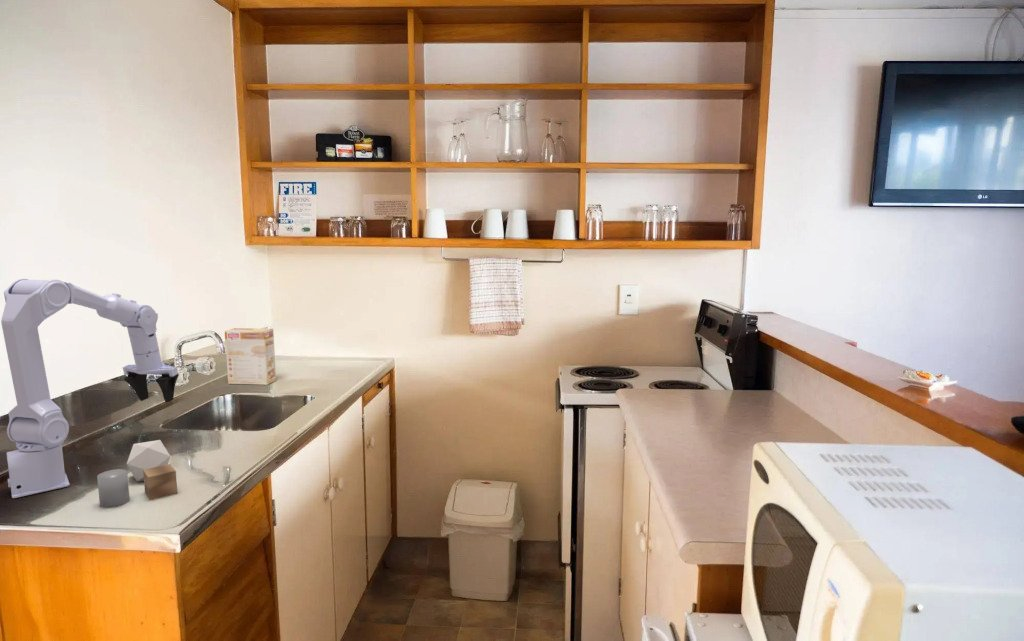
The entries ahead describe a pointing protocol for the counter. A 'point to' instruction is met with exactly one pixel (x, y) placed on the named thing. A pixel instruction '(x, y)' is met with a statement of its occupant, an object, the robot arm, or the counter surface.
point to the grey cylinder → (113, 488)
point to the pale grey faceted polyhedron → (147, 457)
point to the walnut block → (160, 481)
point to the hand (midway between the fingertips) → (156, 400)
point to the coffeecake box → (250, 356)
